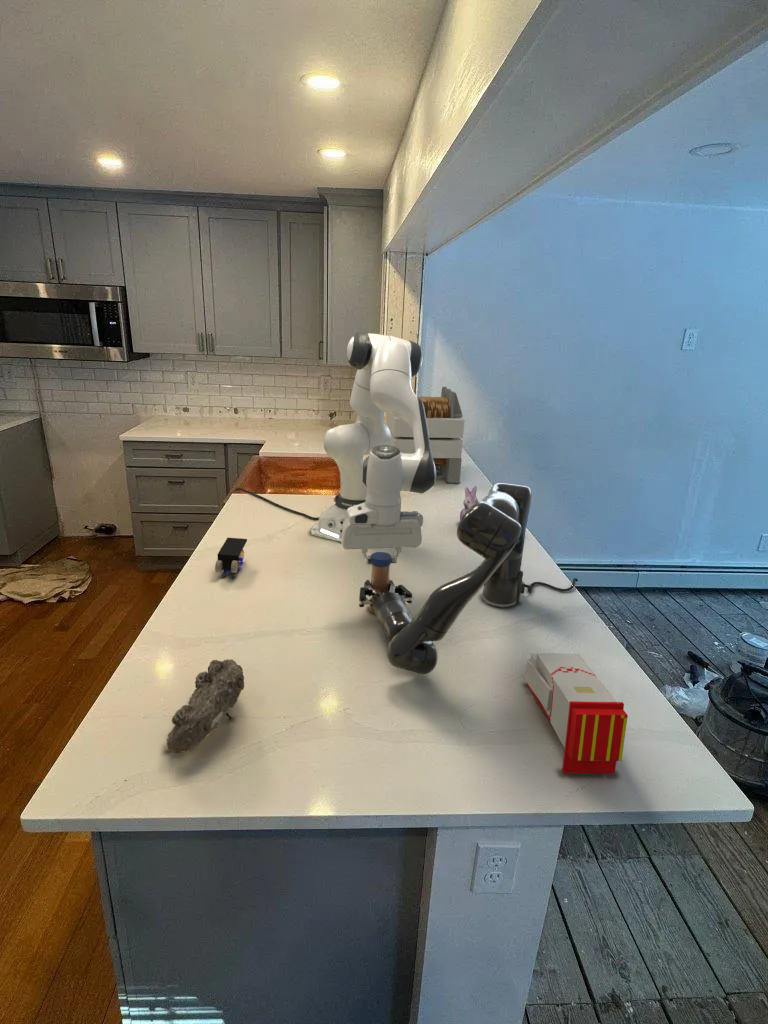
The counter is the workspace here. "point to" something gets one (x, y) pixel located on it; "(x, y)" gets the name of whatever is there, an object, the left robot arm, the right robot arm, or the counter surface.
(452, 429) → the transformer
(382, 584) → the jar
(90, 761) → the counter surface
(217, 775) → the counter surface
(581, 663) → the toy
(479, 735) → the counter surface
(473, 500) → the figurine
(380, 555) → the lid
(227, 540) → the black wheeled block
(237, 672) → the fossil
